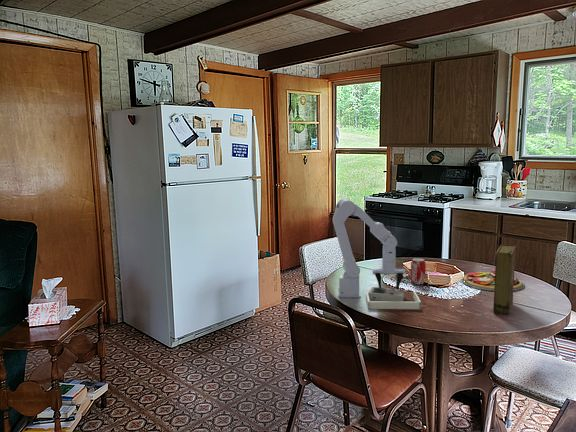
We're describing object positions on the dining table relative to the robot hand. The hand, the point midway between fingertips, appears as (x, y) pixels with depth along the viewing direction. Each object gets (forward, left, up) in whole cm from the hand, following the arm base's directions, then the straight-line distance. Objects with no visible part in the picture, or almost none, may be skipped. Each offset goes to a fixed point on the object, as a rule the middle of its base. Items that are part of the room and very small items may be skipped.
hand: (388, 289), depth 201 cm
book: (+44, -17, -2) cm, 47 cm away
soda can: (+16, +16, -2) cm, 23 cm away
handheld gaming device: (-2, -7, -2) cm, 7 cm away
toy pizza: (+51, +17, -3) cm, 54 cm away
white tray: (0, -13, -2) cm, 13 cm away
